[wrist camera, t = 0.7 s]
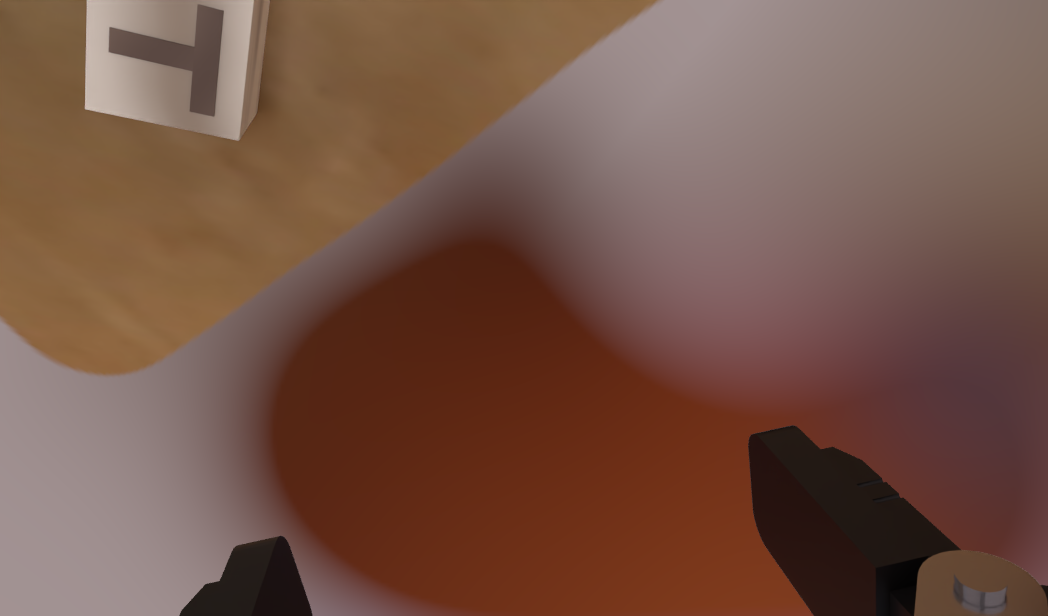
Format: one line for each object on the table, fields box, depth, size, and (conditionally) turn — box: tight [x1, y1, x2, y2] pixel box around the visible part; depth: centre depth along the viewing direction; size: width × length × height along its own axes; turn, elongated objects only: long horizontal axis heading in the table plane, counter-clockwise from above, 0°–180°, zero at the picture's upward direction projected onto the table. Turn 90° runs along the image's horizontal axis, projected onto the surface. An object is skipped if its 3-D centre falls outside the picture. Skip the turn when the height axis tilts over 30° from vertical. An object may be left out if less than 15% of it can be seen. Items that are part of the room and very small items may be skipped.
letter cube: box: [85, 0, 270, 141], centre depth 26 cm, size 5×5×5 cm
